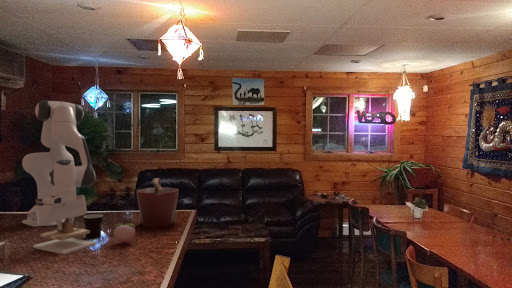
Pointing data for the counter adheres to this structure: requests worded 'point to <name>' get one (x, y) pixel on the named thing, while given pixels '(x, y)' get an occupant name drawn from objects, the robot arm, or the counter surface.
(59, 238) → the birch lid
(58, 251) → the rubber mat
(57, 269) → the counter surface
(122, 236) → the decorative fruit
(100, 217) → the coffee mug
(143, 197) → the bucket
